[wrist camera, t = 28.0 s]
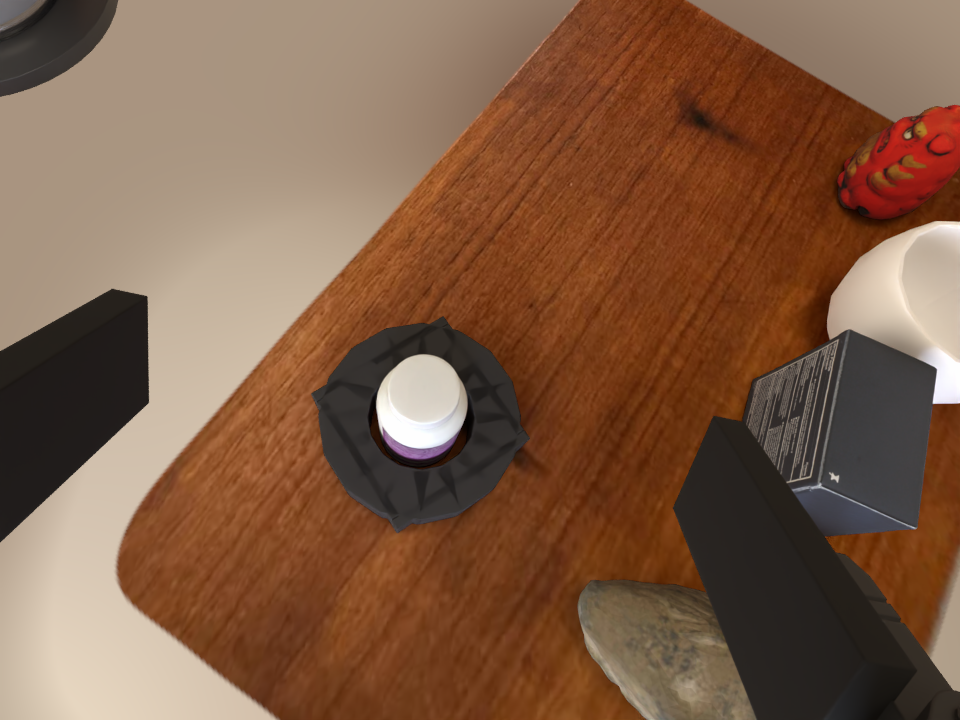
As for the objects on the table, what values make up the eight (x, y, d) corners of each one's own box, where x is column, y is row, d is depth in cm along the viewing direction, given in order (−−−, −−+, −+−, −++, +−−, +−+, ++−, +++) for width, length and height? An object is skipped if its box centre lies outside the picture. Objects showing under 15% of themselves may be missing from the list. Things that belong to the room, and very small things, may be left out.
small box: (803, 544, 43) (924, 536, 33) (717, 507, 43) (813, 488, 33) (830, 410, 47) (946, 367, 37) (751, 376, 47) (845, 324, 37)
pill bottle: (470, 445, 42) (492, 411, 33) (400, 481, 41) (402, 455, 32) (435, 378, 44) (446, 327, 34) (365, 410, 42) (358, 366, 33)
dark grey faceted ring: (290, 402, 42) (282, 387, 38) (444, 312, 45) (448, 292, 42) (390, 562, 39) (390, 561, 36) (545, 453, 43) (557, 443, 40)
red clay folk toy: (845, 144, 56) (997, 0, 42) (915, 181, 55) (1093, 48, 41) (821, 205, 53) (975, 73, 39) (895, 244, 53) (1076, 125, 39)
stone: (534, 675, 38) (568, 700, 31) (584, 541, 41) (627, 533, 34) (785, 798, 38) (882, 853, 30) (816, 653, 41) (911, 670, 33)
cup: (766, 325, 48) (851, 268, 39) (862, 251, 52) (961, 183, 43) (877, 453, 46) (995, 424, 37) (970, 366, 50) (1099, 320, 41)
